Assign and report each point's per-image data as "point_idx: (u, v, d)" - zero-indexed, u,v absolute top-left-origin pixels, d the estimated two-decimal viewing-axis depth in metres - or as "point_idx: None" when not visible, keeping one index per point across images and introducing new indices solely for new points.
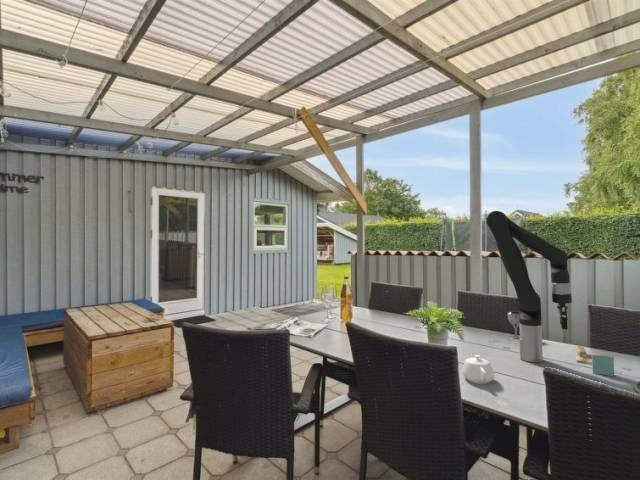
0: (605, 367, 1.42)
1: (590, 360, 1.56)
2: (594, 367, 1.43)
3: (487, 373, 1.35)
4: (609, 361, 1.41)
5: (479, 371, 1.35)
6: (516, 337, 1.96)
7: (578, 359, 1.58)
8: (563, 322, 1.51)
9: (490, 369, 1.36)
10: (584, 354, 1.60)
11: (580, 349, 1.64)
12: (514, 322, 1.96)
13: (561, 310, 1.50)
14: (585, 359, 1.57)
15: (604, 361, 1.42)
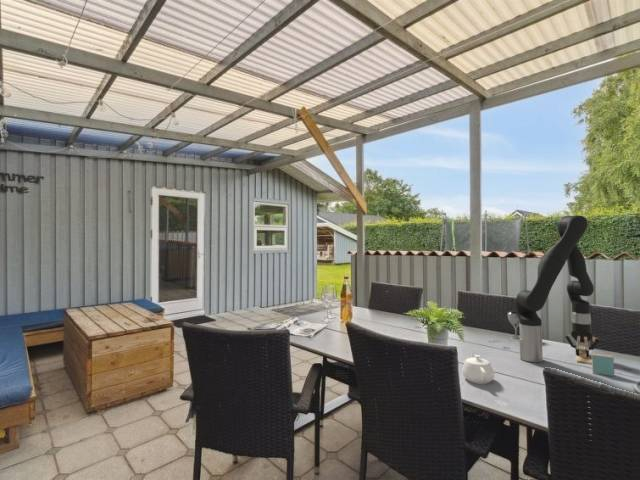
0: (605, 367, 1.42)
1: (590, 360, 1.56)
2: (594, 367, 1.43)
3: (487, 373, 1.35)
4: (609, 361, 1.41)
5: (479, 371, 1.35)
6: (516, 337, 1.96)
7: (578, 359, 1.58)
8: None
9: (490, 369, 1.36)
10: (584, 354, 1.60)
11: (580, 349, 1.64)
12: (514, 322, 1.96)
13: None
14: (585, 359, 1.57)
15: (604, 361, 1.42)
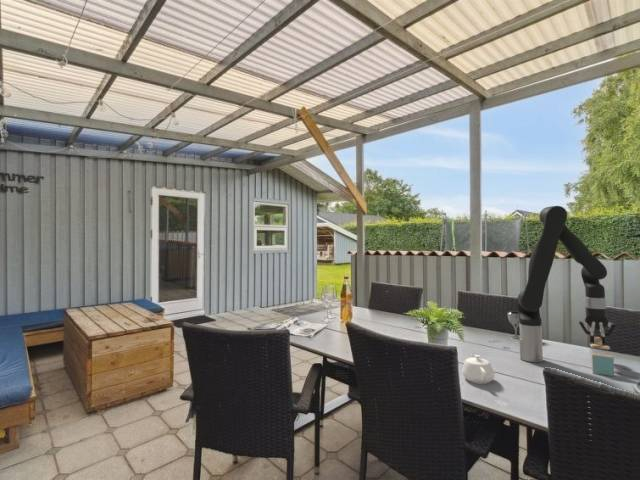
0: (605, 367, 1.41)
1: (606, 346, 1.48)
2: (594, 367, 1.43)
3: (487, 373, 1.35)
4: (609, 361, 1.41)
5: (479, 371, 1.35)
6: (516, 337, 1.96)
7: (593, 345, 1.49)
8: None
9: (490, 369, 1.36)
10: (600, 341, 1.52)
11: None
12: (514, 322, 1.96)
13: None
14: (601, 345, 1.49)
15: (604, 361, 1.42)
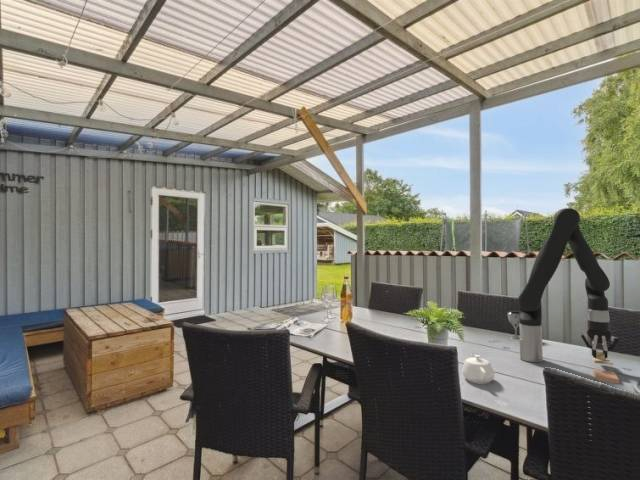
0: None
1: (609, 361, 1.42)
2: None
3: (487, 373, 1.35)
4: None
5: (479, 371, 1.35)
6: (516, 337, 1.96)
7: (596, 360, 1.43)
8: None
9: (490, 369, 1.36)
10: (602, 356, 1.46)
11: (597, 351, 1.50)
12: (514, 322, 1.96)
13: None
14: (604, 360, 1.43)
15: None
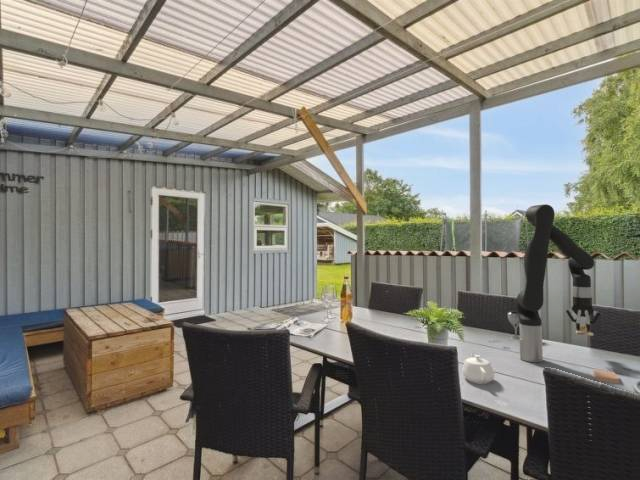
0: None
1: None
2: None
3: (487, 373, 1.35)
4: None
5: (479, 371, 1.35)
6: (516, 337, 1.96)
7: (578, 331, 1.57)
8: None
9: (490, 369, 1.36)
10: (585, 329, 1.59)
11: (581, 325, 1.63)
12: (514, 322, 1.96)
13: None
14: (585, 332, 1.56)
15: None
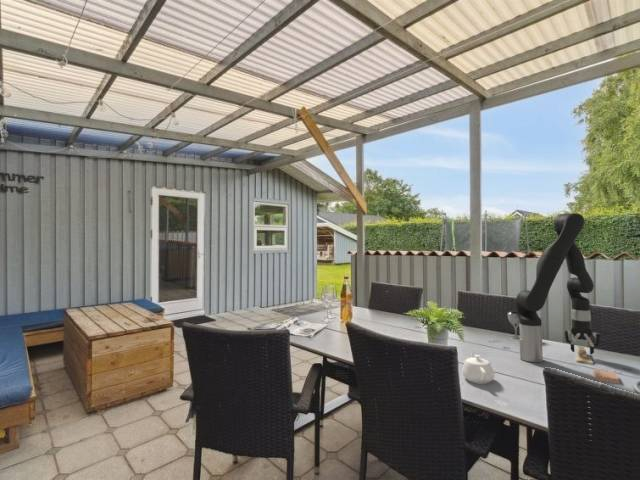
0: None
1: (590, 360, 1.56)
2: None
3: (487, 373, 1.35)
4: None
5: (479, 371, 1.35)
6: (516, 337, 1.96)
7: (578, 359, 1.58)
8: None
9: (490, 369, 1.36)
10: (584, 354, 1.60)
11: (580, 349, 1.64)
12: (514, 322, 1.96)
13: None
14: (585, 359, 1.57)
15: None
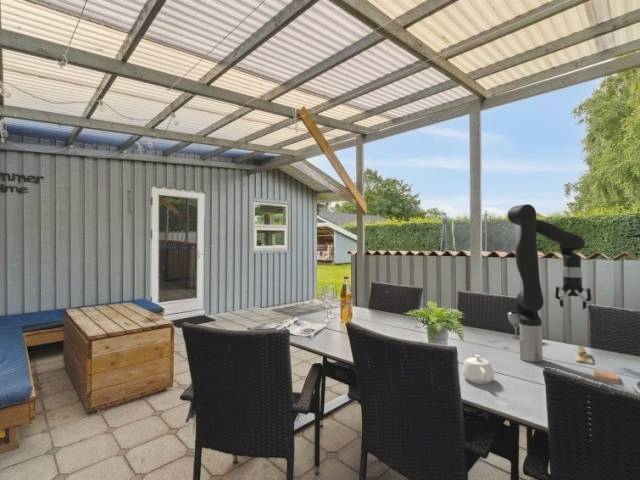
0: None
1: (590, 360, 1.56)
2: None
3: (487, 373, 1.35)
4: None
5: (479, 371, 1.36)
6: (516, 337, 1.96)
7: (578, 359, 1.58)
8: None
9: (490, 369, 1.36)
10: (584, 354, 1.60)
11: (580, 349, 1.64)
12: (514, 322, 1.96)
13: None
14: (585, 359, 1.57)
15: None
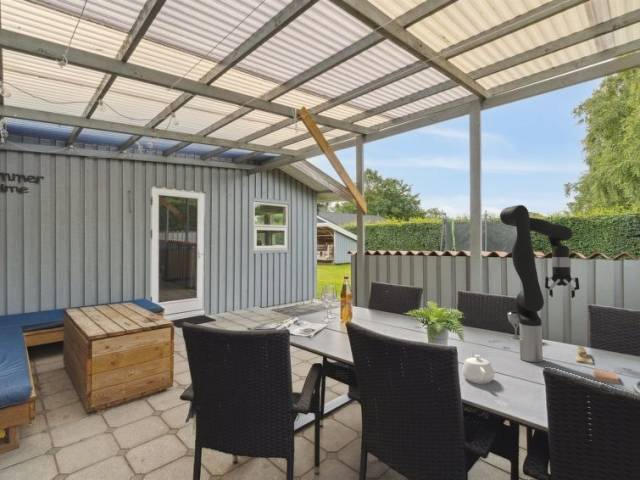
0: None
1: (590, 360, 1.56)
2: None
3: (487, 373, 1.35)
4: None
5: (479, 371, 1.36)
6: (516, 337, 1.96)
7: (578, 359, 1.58)
8: None
9: (490, 369, 1.36)
10: (584, 354, 1.60)
11: (580, 349, 1.64)
12: (514, 322, 1.96)
13: None
14: (585, 359, 1.57)
15: None
